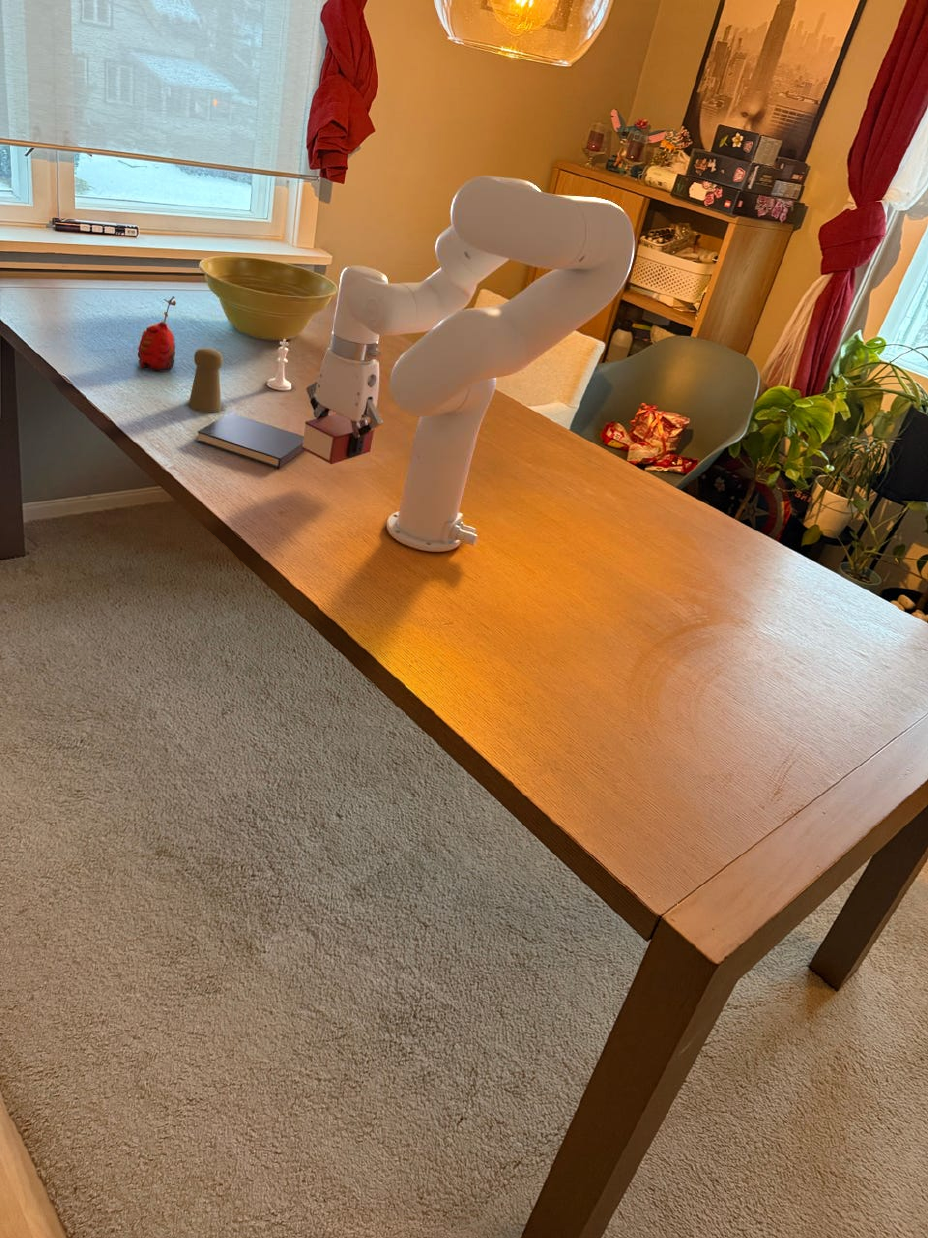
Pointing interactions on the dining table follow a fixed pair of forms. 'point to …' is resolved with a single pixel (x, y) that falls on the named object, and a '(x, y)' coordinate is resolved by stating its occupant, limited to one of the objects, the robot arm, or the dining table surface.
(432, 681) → the dining table surface
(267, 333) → the planter bowl
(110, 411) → the dining table surface
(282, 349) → the chess piece
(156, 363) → the red clay folk toy
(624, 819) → the dining table surface
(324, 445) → the pocket dictionary
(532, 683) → the dining table surface
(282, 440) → the slate hardcover
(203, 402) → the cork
